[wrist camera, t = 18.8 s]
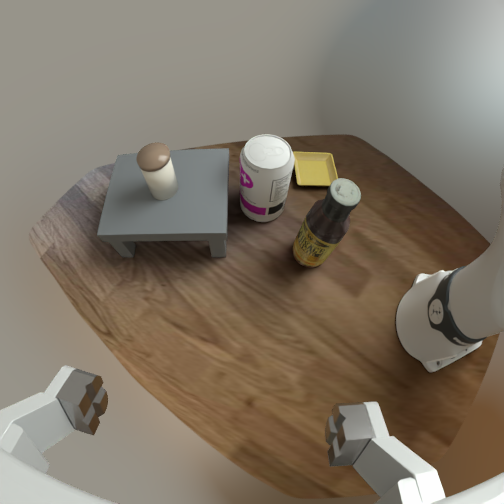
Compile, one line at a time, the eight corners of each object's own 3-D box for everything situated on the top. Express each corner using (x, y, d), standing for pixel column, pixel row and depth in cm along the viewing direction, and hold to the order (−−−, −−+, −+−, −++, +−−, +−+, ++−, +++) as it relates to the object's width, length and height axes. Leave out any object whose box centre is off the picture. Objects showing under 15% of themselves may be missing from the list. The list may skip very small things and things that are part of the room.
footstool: (230, 183, 58) (228, 148, 48) (228, 259, 51) (226, 233, 42) (133, 186, 57) (117, 155, 48) (119, 259, 51) (96, 235, 41)
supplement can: (242, 225, 54) (243, 174, 40) (238, 188, 57) (237, 133, 43) (287, 222, 55) (301, 170, 41) (279, 185, 58) (289, 130, 44)
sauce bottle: (284, 249, 52) (305, 181, 34) (310, 231, 54) (340, 160, 36) (308, 278, 50) (344, 221, 32) (334, 258, 52) (377, 196, 34)
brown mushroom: (180, 175, 46) (171, 141, 39) (177, 200, 44) (166, 167, 37) (152, 177, 46) (140, 144, 38) (148, 201, 44) (133, 169, 37)
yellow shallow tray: (337, 191, 58) (340, 185, 56) (295, 190, 58) (297, 184, 56) (329, 159, 62) (331, 153, 60) (290, 157, 61) (292, 151, 59)
